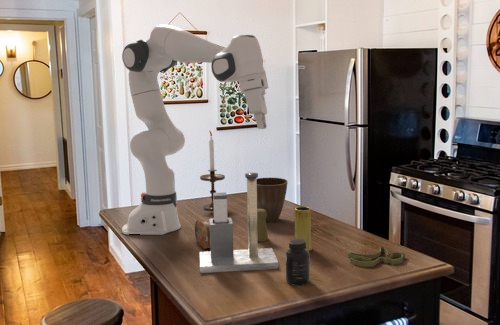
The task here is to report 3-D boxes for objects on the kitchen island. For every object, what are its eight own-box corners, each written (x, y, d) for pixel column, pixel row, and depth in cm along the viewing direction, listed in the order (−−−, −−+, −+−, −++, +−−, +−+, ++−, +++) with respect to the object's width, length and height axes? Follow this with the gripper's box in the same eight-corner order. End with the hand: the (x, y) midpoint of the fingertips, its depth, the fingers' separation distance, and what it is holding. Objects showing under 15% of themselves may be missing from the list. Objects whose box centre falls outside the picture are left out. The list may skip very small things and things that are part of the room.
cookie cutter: (387, 251, 187) (387, 245, 187) (411, 262, 176) (411, 256, 176) (341, 259, 180) (341, 253, 179) (363, 271, 169) (363, 265, 169)
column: (215, 258, 174) (213, 195, 171) (214, 254, 179) (212, 192, 175) (228, 258, 175) (227, 195, 171) (228, 253, 179) (226, 192, 176)
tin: (194, 240, 203) (193, 217, 201) (202, 238, 204) (202, 216, 202) (207, 252, 189) (206, 228, 187) (215, 251, 190) (215, 227, 188)
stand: (200, 272, 170) (196, 180, 165) (199, 257, 183) (196, 171, 178) (278, 268, 172) (277, 177, 167) (272, 253, 186) (270, 168, 181)
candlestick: (196, 208, 248) (193, 130, 242) (215, 203, 255) (212, 127, 249) (211, 212, 240) (209, 131, 234) (230, 207, 247) (228, 129, 242)
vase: (313, 247, 191) (313, 206, 189) (309, 252, 186) (309, 211, 183) (296, 245, 193) (296, 205, 191) (291, 251, 188) (291, 210, 185)
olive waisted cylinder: (266, 241, 199) (266, 211, 197) (250, 241, 200) (249, 211, 198) (269, 236, 204) (269, 207, 203) (253, 236, 206) (252, 207, 204)
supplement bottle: (284, 277, 165) (284, 238, 163) (307, 276, 165) (307, 237, 163) (287, 286, 158) (287, 245, 156) (311, 285, 158) (311, 244, 156)
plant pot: (295, 220, 225) (295, 181, 223) (265, 226, 217) (264, 186, 214) (273, 212, 238) (272, 176, 235) (244, 218, 229) (243, 180, 227)
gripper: (248, 90, 186) (256, 130, 186) (239, 84, 166) (248, 130, 166) (266, 86, 185) (274, 127, 186) (260, 80, 165) (269, 126, 165)
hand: (262, 128), depth 176 cm, fingers open, 8 cm apart
